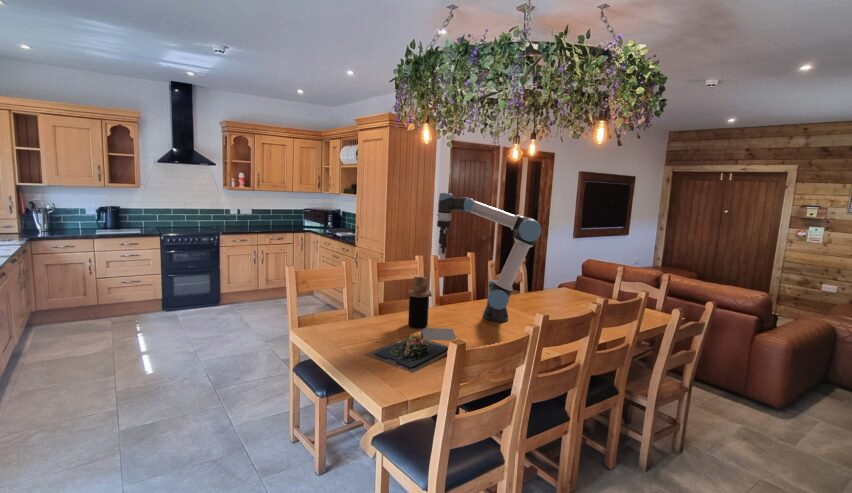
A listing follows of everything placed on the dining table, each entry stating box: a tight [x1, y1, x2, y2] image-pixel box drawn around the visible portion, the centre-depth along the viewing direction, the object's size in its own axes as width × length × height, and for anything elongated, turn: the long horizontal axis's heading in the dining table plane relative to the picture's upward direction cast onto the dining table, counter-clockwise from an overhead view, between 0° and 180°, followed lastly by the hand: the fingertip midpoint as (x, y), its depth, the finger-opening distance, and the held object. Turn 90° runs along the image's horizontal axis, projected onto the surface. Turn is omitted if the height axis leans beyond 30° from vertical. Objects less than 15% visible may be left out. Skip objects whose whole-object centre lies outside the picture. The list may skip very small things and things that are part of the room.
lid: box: [408, 276, 433, 298], centre depth 240 cm, size 12×12×9 cm
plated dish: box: [365, 330, 448, 374], centre depth 206 cm, size 35×28×7 cm
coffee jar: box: [408, 296, 430, 329], centre depth 242 cm, size 11×11×18 cm
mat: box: [419, 327, 457, 342], centre depth 232 cm, size 18×18×1 cm
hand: (441, 257), depth 254 cm, fingers open, 13 cm apart
